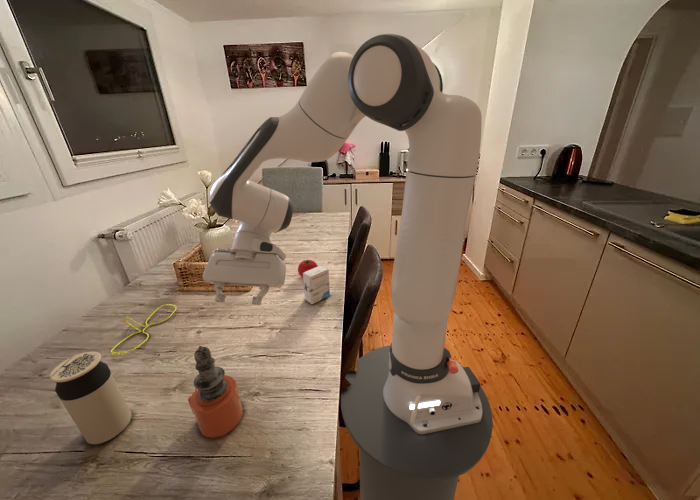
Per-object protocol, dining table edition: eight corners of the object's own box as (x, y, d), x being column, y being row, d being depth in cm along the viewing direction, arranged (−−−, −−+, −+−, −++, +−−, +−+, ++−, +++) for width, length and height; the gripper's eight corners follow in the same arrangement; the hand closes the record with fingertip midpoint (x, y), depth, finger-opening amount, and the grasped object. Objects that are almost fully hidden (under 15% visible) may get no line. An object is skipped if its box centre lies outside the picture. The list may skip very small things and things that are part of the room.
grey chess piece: (224, 374, 63) (212, 331, 58) (231, 392, 59) (219, 347, 54) (195, 387, 60) (180, 344, 55) (200, 407, 56) (185, 361, 51)
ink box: (322, 291, 111) (320, 264, 106) (330, 296, 107) (329, 268, 103) (304, 299, 106) (301, 272, 101) (312, 305, 102) (309, 277, 97)
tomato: (317, 281, 118) (316, 264, 115) (296, 281, 118) (294, 264, 115) (320, 271, 126) (318, 255, 123) (300, 271, 126) (298, 255, 123)
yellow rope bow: (131, 357, 80) (125, 344, 79) (98, 357, 81) (92, 344, 79) (182, 306, 103) (178, 295, 101) (156, 306, 104) (152, 295, 102)
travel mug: (140, 410, 65) (112, 350, 58) (112, 445, 58) (76, 382, 51) (107, 409, 65) (75, 350, 58) (75, 445, 58) (34, 381, 51)
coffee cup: (248, 399, 67) (241, 372, 63) (233, 437, 59) (225, 409, 55) (205, 399, 67) (196, 373, 64) (184, 437, 59) (172, 409, 55)
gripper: (205, 243, 70) (189, 297, 65) (283, 246, 67) (272, 303, 62) (220, 252, 76) (206, 303, 71) (291, 255, 73) (282, 308, 68)
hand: (237, 303), depth 66 cm, fingers open, 8 cm apart
